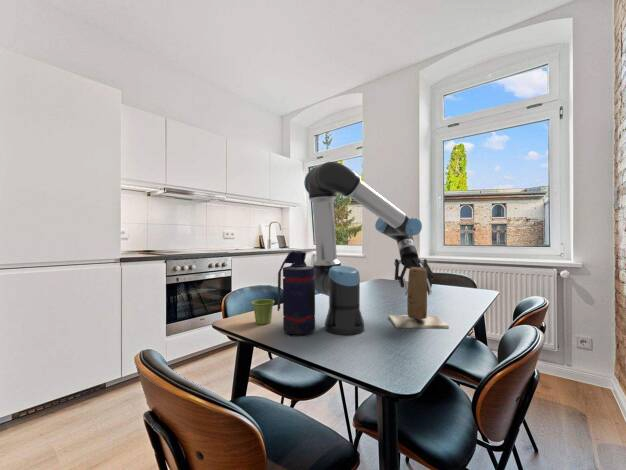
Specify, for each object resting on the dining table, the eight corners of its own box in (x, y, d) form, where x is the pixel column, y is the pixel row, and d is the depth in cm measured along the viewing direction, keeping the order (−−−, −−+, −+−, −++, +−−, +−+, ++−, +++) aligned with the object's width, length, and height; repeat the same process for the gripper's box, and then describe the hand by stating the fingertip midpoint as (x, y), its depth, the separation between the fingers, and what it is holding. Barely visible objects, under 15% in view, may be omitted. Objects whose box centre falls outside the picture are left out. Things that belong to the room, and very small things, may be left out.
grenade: (315, 326, 119) (315, 250, 119) (314, 337, 107) (314, 252, 107) (280, 326, 120) (279, 250, 119) (275, 337, 108) (275, 252, 107)
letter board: (396, 327, 117) (396, 324, 117) (388, 317, 131) (388, 314, 131) (448, 328, 116) (448, 325, 116) (436, 317, 130) (436, 315, 130)
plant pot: (247, 324, 123) (246, 303, 123) (259, 318, 131) (259, 298, 131) (267, 327, 119) (267, 305, 119) (278, 320, 128) (278, 300, 128)
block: (426, 321, 118) (427, 269, 117) (406, 318, 120) (407, 268, 120) (426, 313, 128) (427, 266, 127) (408, 312, 130) (408, 265, 130)
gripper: (384, 245, 136) (392, 288, 120) (433, 245, 135) (448, 288, 119) (382, 256, 141) (389, 298, 125) (429, 256, 140) (443, 298, 124)
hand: (418, 293), depth 122 cm, fingers closed on block, 9 cm apart
